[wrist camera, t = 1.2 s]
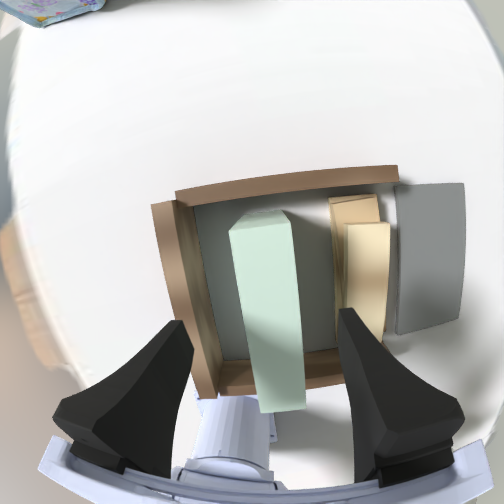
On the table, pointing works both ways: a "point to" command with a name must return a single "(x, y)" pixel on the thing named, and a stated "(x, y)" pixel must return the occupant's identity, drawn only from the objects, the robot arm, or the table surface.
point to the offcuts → (360, 259)
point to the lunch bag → (48, 9)
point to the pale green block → (270, 308)
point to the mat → (429, 254)
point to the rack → (195, 286)
